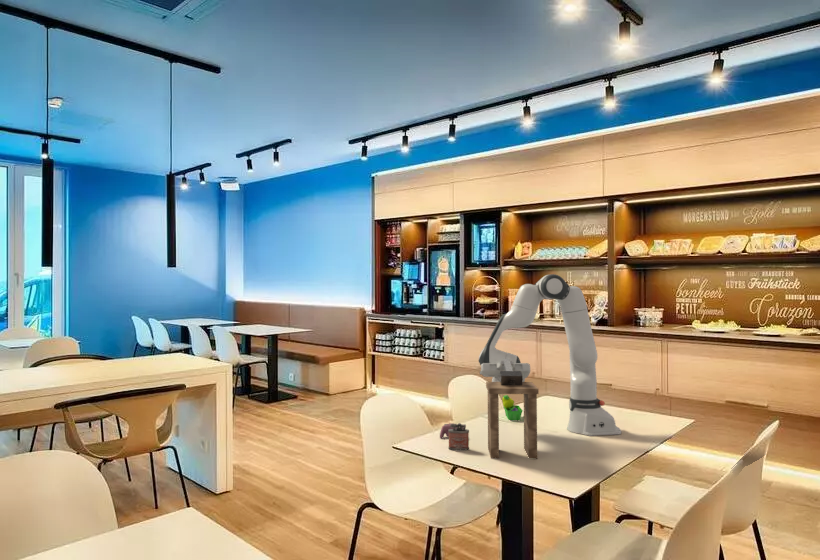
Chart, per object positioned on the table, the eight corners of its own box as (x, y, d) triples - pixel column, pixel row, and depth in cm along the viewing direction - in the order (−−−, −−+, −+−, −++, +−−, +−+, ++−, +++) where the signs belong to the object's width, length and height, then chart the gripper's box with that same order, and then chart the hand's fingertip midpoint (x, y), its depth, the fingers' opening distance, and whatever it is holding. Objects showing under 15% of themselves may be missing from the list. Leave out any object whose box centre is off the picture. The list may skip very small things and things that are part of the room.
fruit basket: (523, 421, 256) (522, 397, 256) (504, 421, 256) (504, 397, 256) (518, 415, 267) (518, 392, 267) (500, 415, 267) (500, 392, 267)
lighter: (469, 448, 214) (468, 422, 214) (469, 450, 210) (468, 424, 210) (448, 447, 214) (448, 422, 215) (448, 450, 211) (448, 424, 211)
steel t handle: (515, 364, 223) (516, 355, 222) (522, 385, 206) (522, 375, 205) (496, 364, 223) (496, 355, 222) (500, 385, 206) (501, 375, 205)
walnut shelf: (532, 448, 213) (532, 382, 213) (539, 459, 199) (538, 388, 199) (486, 447, 214) (486, 381, 214) (489, 459, 200) (489, 388, 200)
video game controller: (463, 442, 228) (465, 425, 231) (461, 439, 224) (463, 422, 227) (441, 440, 231) (442, 423, 234) (438, 437, 227) (440, 421, 230)
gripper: (479, 367, 234) (480, 355, 222) (526, 367, 232) (531, 355, 221) (479, 381, 230) (481, 369, 219) (528, 381, 229) (532, 369, 217)
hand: (507, 362), depth 220 cm, fingers closed on steel t handle, 2 cm apart
